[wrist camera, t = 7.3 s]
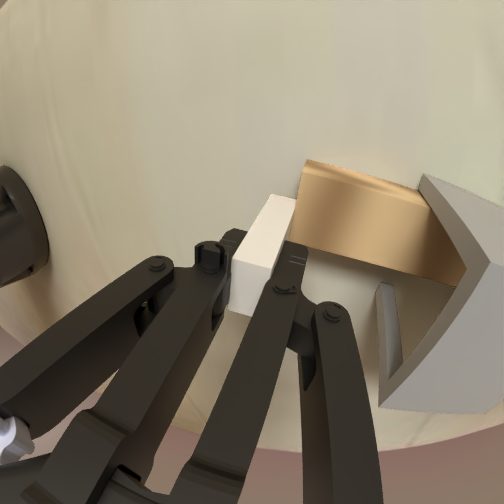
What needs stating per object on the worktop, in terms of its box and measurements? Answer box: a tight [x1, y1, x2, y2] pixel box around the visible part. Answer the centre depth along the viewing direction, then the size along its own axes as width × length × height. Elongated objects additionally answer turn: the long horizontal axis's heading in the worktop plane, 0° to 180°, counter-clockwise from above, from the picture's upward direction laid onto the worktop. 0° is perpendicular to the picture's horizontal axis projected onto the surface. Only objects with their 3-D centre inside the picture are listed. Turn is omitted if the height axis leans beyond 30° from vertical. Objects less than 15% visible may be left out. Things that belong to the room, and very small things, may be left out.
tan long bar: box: [288, 160, 467, 287], centre depth 14 cm, size 16×4×3 cm, turn 82°
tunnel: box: [375, 173, 504, 414], centre depth 12 cm, size 8×9×9 cm
